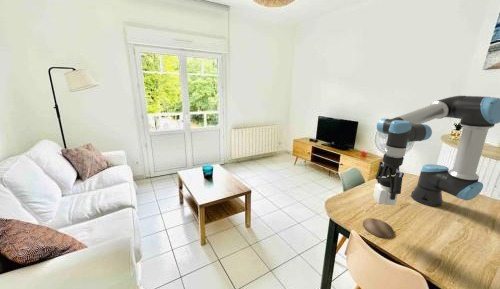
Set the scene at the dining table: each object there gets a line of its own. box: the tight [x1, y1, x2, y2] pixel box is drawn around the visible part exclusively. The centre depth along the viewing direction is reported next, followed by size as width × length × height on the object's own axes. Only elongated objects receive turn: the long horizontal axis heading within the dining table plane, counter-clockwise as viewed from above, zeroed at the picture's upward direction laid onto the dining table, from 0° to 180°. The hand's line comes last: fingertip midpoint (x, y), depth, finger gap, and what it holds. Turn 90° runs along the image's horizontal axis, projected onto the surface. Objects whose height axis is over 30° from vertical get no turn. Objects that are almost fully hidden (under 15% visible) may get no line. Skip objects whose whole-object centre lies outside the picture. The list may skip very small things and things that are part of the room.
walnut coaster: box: [362, 217, 394, 239], centre depth 104 cm, size 13×13×1 cm
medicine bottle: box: [372, 176, 399, 206], centre depth 98 cm, size 7×7×12 cm
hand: (383, 199), depth 99 cm, fingers closed on medicine bottle, 8 cm apart
